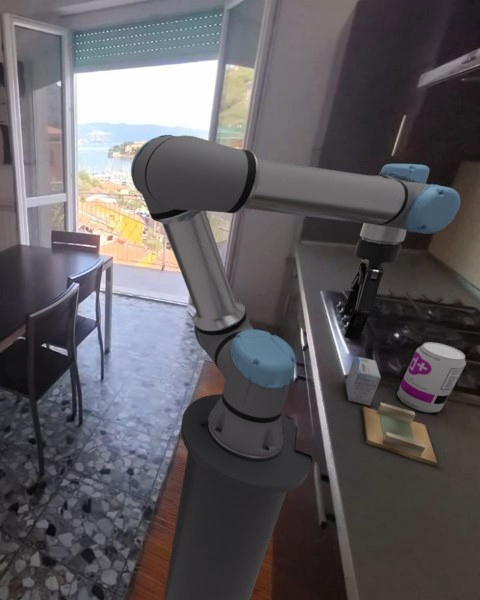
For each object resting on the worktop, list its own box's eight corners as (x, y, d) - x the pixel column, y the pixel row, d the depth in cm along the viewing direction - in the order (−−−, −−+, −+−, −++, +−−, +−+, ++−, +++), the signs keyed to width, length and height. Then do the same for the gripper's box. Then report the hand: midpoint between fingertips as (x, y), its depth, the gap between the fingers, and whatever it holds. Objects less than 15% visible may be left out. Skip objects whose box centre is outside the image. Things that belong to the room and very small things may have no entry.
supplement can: (405, 410, 84) (431, 357, 78) (390, 388, 91) (412, 338, 85) (448, 417, 82) (478, 363, 75) (429, 395, 89) (455, 344, 82)
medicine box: (369, 406, 85) (382, 377, 82) (347, 400, 87) (358, 371, 84) (365, 388, 91) (376, 360, 88) (344, 383, 93) (354, 355, 90)
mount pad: (366, 443, 75) (371, 430, 74) (362, 409, 84) (367, 398, 83) (435, 466, 70) (442, 453, 68) (423, 427, 79) (429, 415, 77)
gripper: (413, 258, 65) (374, 355, 74) (394, 230, 84) (365, 310, 93) (363, 252, 69) (331, 345, 78) (356, 226, 88) (331, 303, 97)
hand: (350, 326), depth 86 cm, fingers open, 13 cm apart
